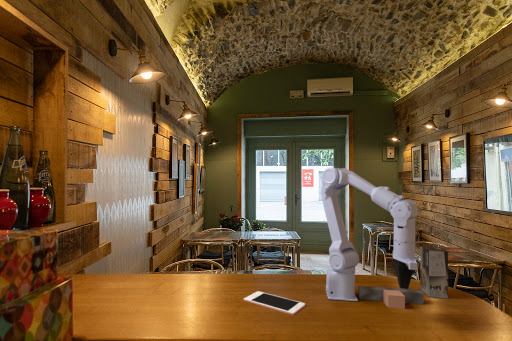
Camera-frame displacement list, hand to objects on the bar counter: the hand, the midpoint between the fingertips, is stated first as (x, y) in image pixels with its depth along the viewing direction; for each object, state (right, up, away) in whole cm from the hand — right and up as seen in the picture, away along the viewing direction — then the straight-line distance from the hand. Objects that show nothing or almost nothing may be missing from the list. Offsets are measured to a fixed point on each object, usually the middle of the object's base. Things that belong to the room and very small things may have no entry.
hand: (403, 288), depth 88 cm
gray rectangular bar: (+1, -9, +13) cm, 15 cm away
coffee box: (+21, -10, +20) cm, 30 cm away
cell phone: (-38, -8, +8) cm, 39 cm away
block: (+1, -9, +9) cm, 12 cm away
